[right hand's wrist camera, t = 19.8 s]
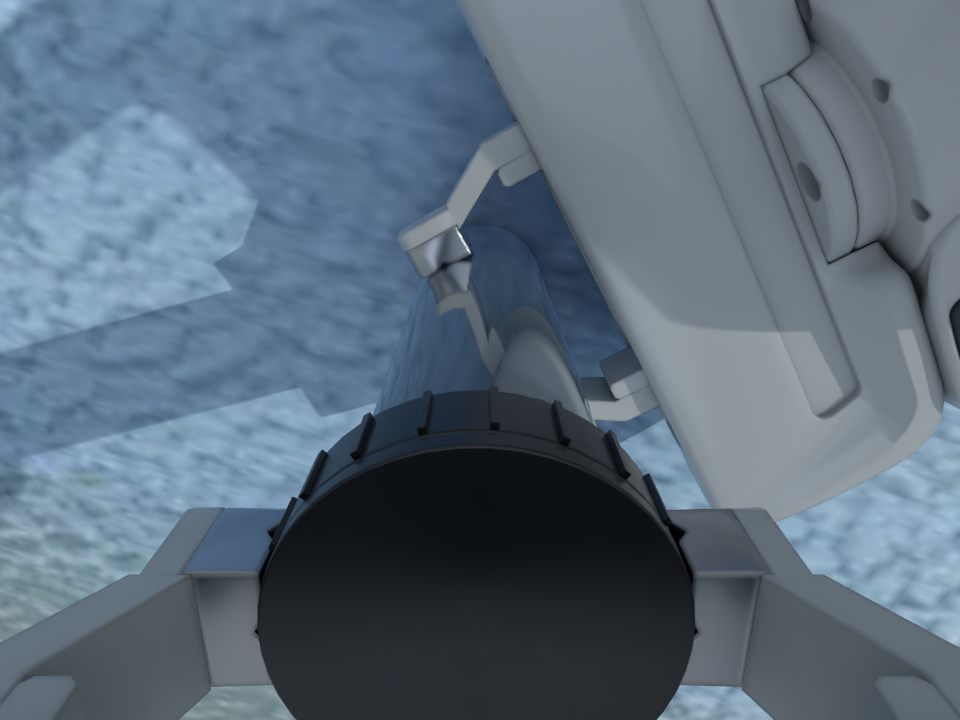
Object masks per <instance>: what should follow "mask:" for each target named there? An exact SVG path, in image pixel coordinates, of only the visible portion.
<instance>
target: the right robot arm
mask: <svg viewBox="0 0 960 720" xmlns="http://www.w3.org/2000/svg"><path fill="white" fill-rule="evenodd" d="M285 511H286V509H262V508H223V507H216V508H192V509H189V510H187V511H186V512H185V513H184V515H183V516H182V517H181V519H180V520H179V521H178V523H177V524H176V525H175V527H174V528H173V530H172V531H171V532H170V534H169V535H168V536H167V538H166V539H165V541H164V542H163V543H162V545H161V546H160V547H159V549H158V550H157V551H156V553H155V554H154V556H153V557H152V558H151V560H150V561H149V562H148V564H147V565H146V566H145V568H144V569H143V571H142V572H141V573H140V575H127V576H125V577H124V578H122V579H120V580H118V581H116V582H114V583H112V584H110V585H108V586H107V587H105V588H103V589H101V590H99V591H97V592H95V593H93V594H92V595H90V596H88V597H86V598H84V599H82V600H80V601H78V602H76V603H75V604H73V605H71V606H69V607H67V608H65V609H63V610H61V611H60V612H58V613H56V614H54V615H52V616H50V617H48V618H46V619H44V620H43V621H41V622H39V623H37V624H35V625H33V626H31V627H29V628H28V629H26V630H24V631H22V632H20V633H18V634H16V635H14V636H12V637H11V638H9V639H7V640H5V641H3V642H1V643H0V720H179V719H180V718H181V717H182V716H183V715H184V714H186V713H187V712H188V711H189V710H190V709H191V708H192V707H193V706H194V705H195V704H196V703H197V702H199V701H200V700H201V699H202V698H203V697H204V696H205V695H206V694H207V693H208V692H209V691H210V690H211V688H210V687H220V686H254V685H273V684H272V682H271V680H270V678H269V676H268V673H267V670H266V667H265V664H264V661H263V657H262V654H261V649H260V643H259V637H258V630H257V605H258V600H259V594H260V588H261V583H262V580H263V577H264V574H265V571H266V568H267V565H268V563H269V560H270V558H271V555H272V553H273V550H270V549H268V548H269V545H270V542H271V540H272V538H273V536H274V534H275V532H276V530H277V528H278V526H279V524H280V522H281V519H282V517H283V515H284V513H285ZM667 512H668V514H669V516H670V518H671V521H672V524H670V525H668V528H669V530H670V533H671V535H672V536H674V537H675V539H676V541H677V543H678V545H679V546H678V551H679V553H680V555H681V557H682V560H683V563H684V565H685V568H686V570H687V573H688V576H689V578H690V582H691V587H692V592H693V597H694V602H695V633H694V641H693V649H692V652H691V656H690V659H689V663H688V666H687V670H686V672H685V675H684V677H683V679H682V681H681V683H680V685H697V686H733V687H742V690H743V691H744V692H745V693H746V694H747V695H748V696H749V697H750V698H751V699H752V700H754V701H755V702H756V703H757V704H758V705H759V706H760V707H761V708H762V709H763V710H764V711H765V712H766V713H767V714H769V715H770V716H771V717H772V718H773V719H774V720H960V648H959V647H957V646H955V645H953V644H951V643H949V642H948V641H946V640H944V639H942V638H940V637H938V636H936V635H935V634H933V633H931V632H929V631H927V630H925V629H923V628H922V627H920V626H918V625H916V624H914V623H912V622H910V621H909V620H907V619H905V618H903V617H901V616H899V615H897V614H896V613H894V612H892V611H890V610H888V609H886V608H884V607H883V606H881V605H879V604H877V603H875V602H873V601H871V600H870V599H868V598H866V597H864V596H862V595H860V594H858V593H857V592H855V591H853V590H851V589H849V588H847V587H845V586H844V585H842V584H840V583H838V582H836V581H834V580H832V579H831V578H829V577H827V576H825V575H813V574H812V573H811V571H810V570H809V569H808V567H807V566H806V564H805V563H804V562H803V560H802V559H801V558H800V556H799V555H798V553H797V552H796V551H795V549H794V548H793V546H792V545H791V544H790V542H789V541H788V540H787V538H786V537H785V535H784V534H783V533H782V531H781V530H780V528H779V527H778V526H777V524H776V523H775V522H774V520H773V519H772V517H771V516H770V515H769V513H768V512H767V511H766V510H765V509H763V508H761V507H749V508H727V509H690V510H667Z"/></svg>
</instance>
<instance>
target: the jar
mask: <svg viewBox="0 0 960 720" xmlns="http://www.w3.org/2000/svg"><path fill="white" fill-rule="evenodd" d="M464 228H465V230H466V232H467V234H468V236H469V238H470V240H471V242H472V247H471V249H472V251H471V254H470V255H468V256H466V257H464V258H462V259H461V260H459V261H457V262H454V263H452V264H445V263H443V264H442V266H441V268H440V270H439V271H437V272H436V273H435V274H433V275H431V276H429V277H427V278H424V279H421V278H420V281H419V284H418V287H417V289H416V292H415V295H414V298H413V301H412V304H411V307H410V309H409V312H408V315H407V318H406V321H405V324H404V327H403V330H402V332H401V335H400V338H399V341H398V344H397V347H396V350H395V352H394V355H393V358H392V361H391V364H390V367H389V370H388V373H387V375H386V378H385V381H384V384H383V387H382V390H381V393H380V395H379V398H378V401H377V404H376V407H375V410H374V413H373V415H372V416H375V415H377V414H378V413H380V412H382V411H384V410H386V409H389V408H391V407H394V406H396V405H399V404H401V403H404V402H406V401H409V400H413V399H417V398H421V397H423V392H425V391H430V390H431V392H432V395H433V394H439V393H446V392H454V391H467V390H489V389H490V386H495V387H498V392H507V393H515V394H520V395H524V396H528V397H532V398H536V399H541V400H543V401H546V402H549V403H551V404H553V402H554V400H557V401H560V402H562V405H563V408H565V409H567V410H569V411H571V412H572V413H574V414H576V415H578V416H580V417H582V418H584V419H586V420H588V421H589V422H590V423H592V424H593V425H595V426H596V423H595V420H594V418H593V415H592V412H591V409H590V407H589V404H588V401H587V398H586V396H585V393H584V390H583V387H582V385H581V382H580V379H579V376H578V374H577V371H576V368H575V365H574V363H573V360H572V357H571V354H570V352H569V349H568V346H567V343H566V341H565V338H564V335H563V332H562V330H561V327H560V324H559V321H558V319H557V316H556V313H555V310H554V308H553V305H552V302H551V299H550V297H549V294H548V291H547V288H546V286H545V283H544V280H543V277H542V275H541V272H540V269H539V266H538V264H537V261H536V259H535V257H534V255H533V253H532V252H531V250H530V249H529V247H528V246H527V245H526V244H525V243H524V242H523V241H522V240H521V239H520V238H519V237H517V236H516V235H514V234H513V233H511V232H509V231H507V230H505V229H503V228H499V227H496V226H491V225H472V226H467V227H464ZM596 427H597V426H596Z"/></svg>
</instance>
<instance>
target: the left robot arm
mask: <svg viewBox="0 0 960 720" xmlns="http://www.w3.org/2000/svg"><path fill="white" fill-rule="evenodd" d="M454 1H455V3H456V5H457V7H458V9H459V11H460V13H461V15H462V17H463V19H464V21H465V23H466V25H467V27H468V29H469V31H470V33H471V35H472V37H473V39H474V41H475V43H476V45H477V47H478V49H479V51H480V53H481V55H482V57H483V59H484V61H485V63H486V65H487V67H488V69H489V70H490V72H491V74H492V76H493V78H494V80H495V82H496V84H497V86H498V88H499V90H500V92H501V94H502V96H503V98H504V100H505V102H506V104H507V106H508V108H509V110H510V112H511V114H512V116H513V118H514V120H515V122H513V123H511V124H510V125H508V126H506V127H505V128H503V129H501V130H499V131H498V132H496V133H494V134H493V135H491V136H489V137H488V138H486V139H484V140H482V141H481V142H480V144H479V145H478V147H477V149H476V151H475V152H474V154H473V156H472V158H471V159H470V161H469V163H468V164H467V166H466V168H465V170H464V171H463V173H462V175H461V176H460V178H459V180H458V182H457V183H456V185H455V187H454V189H453V190H452V192H451V194H450V195H449V197H448V200H447V203H446V204H444V205H443V206H441V207H439V208H437V209H435V210H434V211H432V212H430V213H428V214H427V215H425V216H423V217H421V218H420V219H418V220H416V221H414V222H412V223H411V224H409V225H408V226H407V227H405V228H404V229H402V230H401V231H400V232H399V233H398V235H397V236H396V239H397V240H398V242H399V244H400V246H401V248H402V250H403V251H404V252H405V254H406V256H407V257H408V259H409V260H410V262H411V264H412V265H413V267H414V269H415V270H416V272H417V273H418V275H419V277H420V278H421V279H424V278H427V277H429V276H431V275H433V274H435V273H436V272H437V271H439V270H440V268H441V266H442V264H443V263H445V264H452V263H454V262H457V261H459V260H461V259H462V258H464V257H466V256H468V255H470V254H471V251H472V249H471V247H472V242H471V240H470V238H469V236H468V234H467V232H466V230H465V228H464V227H463V225H462V224H463V222H464V221H465V219H466V217H467V216H468V214H469V212H470V211H471V209H472V207H473V206H474V204H475V202H476V201H477V199H478V197H479V196H480V194H481V192H482V191H483V189H484V187H485V186H486V184H487V182H488V181H489V179H490V177H491V176H492V174H493V172H494V171H495V170H497V173H498V176H499V178H500V180H501V181H502V183H503V185H504V186H507V187H510V186H512V185H514V184H516V183H517V182H519V181H521V180H523V179H525V178H527V177H529V176H530V175H532V174H534V173H536V172H538V171H540V172H541V174H542V176H543V178H544V180H545V182H546V184H547V186H548V188H549V190H550V192H551V194H552V196H553V198H554V200H555V202H556V204H557V206H558V208H559V210H560V212H561V214H562V216H563V218H564V220H565V222H566V224H567V226H568V228H569V230H570V232H571V234H572V236H573V238H574V240H575V242H576V244H577V246H578V248H579V250H580V252H581V254H582V256H583V258H584V260H585V262H586V264H587V266H588V268H589V269H590V271H591V273H592V275H593V277H594V279H595V281H596V283H597V285H598V287H599V289H600V291H601V293H602V295H603V297H604V299H605V301H606V303H607V305H608V307H609V309H610V311H611V313H612V315H613V317H614V319H615V321H616V323H617V325H618V327H619V329H620V331H621V333H622V335H623V337H624V339H625V341H626V343H627V345H628V347H627V348H625V349H623V350H622V351H620V352H618V353H616V354H614V355H612V356H610V357H608V358H606V359H604V360H602V361H601V362H600V368H601V370H602V372H603V374H604V376H605V377H579V379H580V382H581V385H582V387H583V390H584V393H585V396H586V398H587V401H588V404H589V407H590V409H591V412H592V415H593V418H594V420H606V421H628V420H630V419H632V418H635V417H637V416H639V415H641V414H643V413H645V412H647V411H649V410H651V409H654V408H656V407H659V409H660V411H661V413H662V415H663V417H664V419H665V421H666V423H667V425H668V427H669V429H670V431H671V433H672V435H673V437H674V439H675V441H676V443H677V445H678V447H679V449H680V451H681V453H682V455H683V457H684V459H685V460H686V462H687V464H688V466H689V468H690V470H691V472H692V474H693V476H694V478H695V480H696V482H697V484H698V486H699V488H700V489H701V491H702V493H703V495H704V497H705V498H706V500H707V502H708V503H709V505H710V507H711V508H712V509H727V508H749V507H761V508H763V509H765V510H766V511H767V512H768V513H769V515H770V516H771V517H772V519H773V520H774V522H777V521H780V520H783V519H785V518H788V517H790V516H793V515H795V514H797V513H800V512H802V511H804V510H807V509H809V508H811V507H814V506H816V505H818V504H820V503H822V502H825V501H827V500H829V499H831V498H833V497H835V496H837V495H840V494H842V493H844V492H846V491H848V490H850V489H852V488H854V487H856V486H858V485H860V484H862V483H864V482H866V481H867V480H869V479H871V478H873V477H875V476H877V475H879V474H881V473H883V472H885V471H886V470H888V469H890V468H892V467H893V466H895V465H897V464H898V463H900V462H901V461H903V460H905V459H906V458H907V457H909V456H910V455H912V454H913V453H914V452H915V451H916V450H918V449H919V448H920V447H921V446H922V445H923V444H924V443H925V442H926V441H927V440H928V439H929V437H930V436H931V435H932V434H933V432H934V431H935V429H936V427H937V425H938V424H939V421H940V418H941V416H942V412H943V407H944V401H945V402H947V403H949V404H951V405H953V406H955V407H957V408H959V409H960V0H454Z"/></svg>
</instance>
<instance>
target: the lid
mask: <svg viewBox="0 0 960 720" xmlns="http://www.w3.org/2000/svg"><path fill="white" fill-rule="evenodd" d="M670 524H672V521H671V518H670V516H669V514H668V512H667V510H666V507H665V505H664V503H663V501H662V499H661V497H660V494H659V492H658V490H657V488H656V486H655V483H654V481H653V479H652V477H651V476H650V474H649V473H648V474H646V475H644V476H643V474H642V472H641V471H640V469H639V468H638V466H637V465H636V464H635V463H634V461H633V460H632V459H631V458H630V456H629V455H628V454H627V453H626V451H625V450H623V449H622V448H621V447H620V445H619V442H618V440H617V438H616V435H615V434H614V433H613V432H612V431H611V430H609V431H608V432H607V433H605V432H603V431H602V430H600V429H599V428H598V427H596V426H595V425H593V424H592V423H590V422H589V421H588V420H586V419H584V418H582V417H580V416H578V415H576V414H574V413H572V412H571V411H569V410H567V409H565V408H563V405H562V402H560V401H557V400H554V402H553V404H551V403H549V402H546V401H543V400H541V399H536V398H532V397H528V396H524V395H520V394H515V393H507V392H498V387H495V386H490V389H489V390H467V391H454V392H446V393H439V394H433V395H432V392H431V390H430V391H425V392H423V397H421V398H417V399H413V400H409V401H406V402H404V403H401V404H399V405H396V406H394V407H391V408H389V409H386V410H384V411H382V412H380V413H378V414H377V415H375V416H372V414H371V413H368V414H366V415H364V417H363V419H362V422H361V424H359V425H358V426H357V427H355V428H354V429H353V430H351V431H350V432H349V433H347V434H346V435H345V436H343V437H342V438H341V439H340V440H339V441H338V442H337V443H336V444H335V445H334V446H333V447H332V448H331V449H330V450H329V451H328V452H327V453H326V452H325V451H324V450H321V451H320V452H319V454H318V455H317V457H316V459H315V462H314V464H313V466H312V468H311V470H310V472H309V475H308V477H307V479H306V481H305V483H304V485H303V488H302V490H301V492H300V494H299V496H298V498H295V497H292V499H291V501H290V503H289V505H288V507H287V509H286V511H285V513H284V515H283V517H282V519H281V522H280V524H279V526H278V528H277V530H276V532H275V534H274V536H273V538H272V540H271V542H270V545H269V548H268V549H270V550H273V553H272V555H271V558H270V560H269V563H268V565H267V568H266V571H265V574H264V577H263V580H262V583H261V588H260V594H259V600H258V605H257V630H258V637H259V643H260V649H261V654H262V657H263V661H264V664H265V667H266V670H267V673H268V676H269V678H270V680H271V682H272V684H273V686H274V688H275V690H276V692H277V694H278V695H279V697H280V698H281V700H282V701H283V703H284V704H285V706H286V707H287V708H288V710H289V711H290V713H291V714H292V715H293V716H294V718H295V719H296V720H657V718H658V717H659V716H660V715H661V714H662V713H663V712H664V710H665V709H666V707H667V706H668V704H669V702H670V701H671V699H672V698H673V696H674V695H675V693H676V692H677V690H678V687H679V685H680V683H681V681H682V679H683V677H684V675H685V672H686V670H687V666H688V663H689V659H690V656H691V652H692V649H693V641H694V633H695V602H694V597H693V592H692V587H691V582H690V578H689V576H688V573H687V570H686V568H685V565H684V563H683V560H682V557H681V555H680V553H679V551H678V546H679V545H678V543H677V541H676V539H675V537H674V536H672V535H671V533H670V530H669V528H668V525H670Z"/></svg>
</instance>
